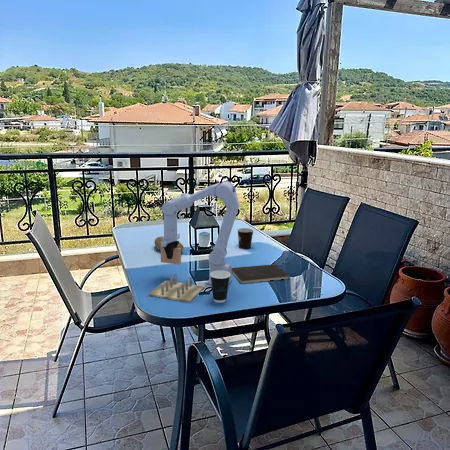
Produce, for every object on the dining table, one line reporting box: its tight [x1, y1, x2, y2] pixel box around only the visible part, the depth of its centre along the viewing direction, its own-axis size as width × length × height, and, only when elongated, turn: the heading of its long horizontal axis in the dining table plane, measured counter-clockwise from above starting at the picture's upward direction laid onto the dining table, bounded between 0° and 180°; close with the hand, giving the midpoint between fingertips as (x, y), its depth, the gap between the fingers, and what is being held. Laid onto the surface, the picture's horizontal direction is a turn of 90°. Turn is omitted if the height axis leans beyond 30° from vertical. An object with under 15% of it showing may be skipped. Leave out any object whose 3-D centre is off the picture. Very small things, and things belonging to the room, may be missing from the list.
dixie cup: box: [210, 271, 230, 304], centre depth 161 cm, size 8×8×11 cm
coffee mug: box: [237, 227, 254, 250], centre depth 229 cm, size 12×9×10 cm
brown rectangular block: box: [160, 247, 182, 266], centre depth 181 cm, size 9×2×7 cm, turn 71°
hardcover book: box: [232, 263, 290, 284], centre depth 189 cm, size 16×23×2 cm
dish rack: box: [148, 273, 205, 304], centre depth 168 cm, size 18×15×5 cm
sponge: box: [154, 236, 185, 253], centre depth 220 cm, size 13×8×20 cm
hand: (170, 257), depth 181 cm, fingers closed on brown rectangular block, 2 cm apart
